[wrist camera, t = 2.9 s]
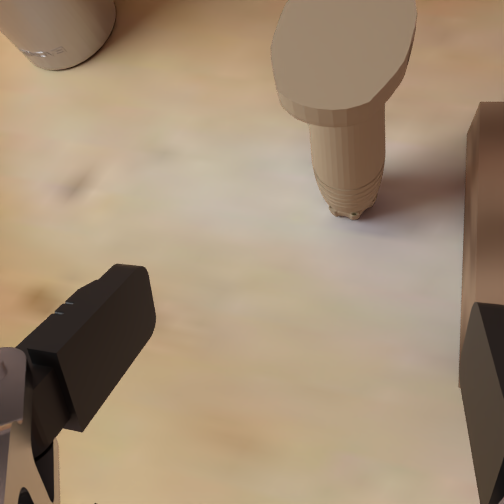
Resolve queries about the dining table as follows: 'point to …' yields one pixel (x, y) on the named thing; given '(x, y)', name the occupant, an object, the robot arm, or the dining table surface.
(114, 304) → the robot arm
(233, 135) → the dining table surface
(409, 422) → the dining table surface
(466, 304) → the holder
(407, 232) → the dining table surface
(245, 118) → the dining table surface
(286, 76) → the handle
